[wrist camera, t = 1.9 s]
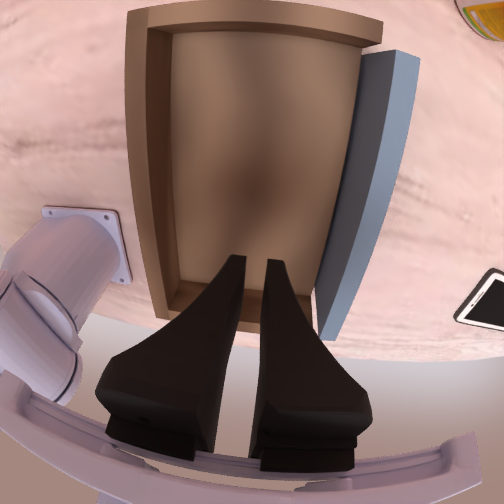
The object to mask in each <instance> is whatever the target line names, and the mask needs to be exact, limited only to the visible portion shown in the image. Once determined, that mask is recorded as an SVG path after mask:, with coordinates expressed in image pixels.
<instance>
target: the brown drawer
mask: <svg viewBox="0 0 504 504" xmlns="http://www.w3.org/2000/svg"><path fill="white" fill-rule="evenodd" d="M382 33H383V22H382V21H379V20H376V19H372V18H369V17H365V16H361V15H357V14H353V13H349V12H345V11H340V10H336V9H331V8H325V7H320V6H314V5H307V4H300V3H292V2H282V1H270V0H201V1H189V2H179V3H171V4H164V5H157V6H151V7H146V8H140V9H136V10H131V11H128V13H127V26H126V42H125V115H126V134H127V148H128V159H129V169H130V179H131V187H132V195H133V203H134V210H135V216H136V223H137V229H138V235H139V241H140V246H141V252H142V257H143V262H144V267H145V272H146V277H147V281H148V286H149V290H150V295H151V299H152V303H153V307H154V311H155V315H156V318H160V319H166V320H171V321H172V320H173V319H174V318H175V317H177V316H178V315H179V314H180V313H181V312H182V311H183V310H185V309H186V308H187V307H188V306H189V305H190V304H191V303H192V302H193V301H194V300H195V299H196V298H197V297H198V296H199V294H200V293H201V292H202V291H203V290H204V289H205V288H206V287H207V286H208V284H209V283H210V282H211V281H212V280H213V278H214V277H215V276H216V275H217V273H218V272H219V271H220V269H221V268H222V266H223V265H224V264H225V262H226V260H227V259H228V257H229V256H230V255H231V254H235V255H243V256H247V261H246V274H245V287H244V296H243V303H242V309H241V315H240V319H239V323H238V326H237V330H236V331H241V332H249V333H257V334H260V314H261V305H262V296H263V289H264V282H265V274H266V267H267V259H277V260H283V261H284V262H285V265H286V269H287V273H288V276H289V279H290V282H291V284H292V287H293V289H294V292H295V294H296V296H297V299H298V301H299V303H300V305H301V307H302V309H303V311H304V313H305V315H306V317H307V319H308V320H309V322H310V324H311V325H312V327H313V321H312V305H311V294H312V290H313V287H314V283H315V280H316V276H317V273H318V269H319V265H320V262H321V258H322V254H323V250H324V247H325V243H326V239H327V235H328V231H329V227H330V223H331V219H332V215H333V210H334V206H335V202H336V197H337V193H338V188H339V184H340V179H341V174H342V170H343V165H344V160H345V155H346V150H347V144H348V139H349V133H350V128H351V122H352V116H353V110H354V104H355V97H356V91H357V84H358V76H359V69H360V61H361V52H362V48H366V47H369V46H373V45H377V44H381V43H382Z"/></svg>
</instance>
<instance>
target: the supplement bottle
mask: <svg viewBox="0 0 504 504" xmlns="http://www.w3.org/2000/svg"><path fill="white" fill-rule="evenodd" d="M456 3H457V6H458V8H459V10H460V12H461V14H462V16H463V17H464V19H465V20H466V21H467V23H468V24H469V25H470V26H471V27H472V28H473V30H475V31H476V32H477V33H478V34H479V35H481V36H482V37H484V38H486V39H489V40H492V41H502V42H504V0H456Z"/></svg>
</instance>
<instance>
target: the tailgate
mask: <svg viewBox="0 0 504 504" xmlns="http://www.w3.org/2000/svg"><path fill="white" fill-rule="evenodd" d="M419 66H420V58H418V57H416V56H413V55H410V54H408V53H405V52H402V51H399V50H389V51H383V52H377V53H371V54H365V55H361V61H360V69H359V76H358V84H357V91H356V97H355V104H354V110H353V116H352V122H351V128H350V133H349V139H348V144H347V150H346V155H345V160H344V165H343V170H342V174H341V179H340V184H339V188H338V193H337V197H336V202H335V206H334V210H333V215H332V219H331V223H330V227H329V231H328V235H327V239H326V243H325V247H324V250H323V254H322V258H321V262H320V265H319V269H318V273H317V276H316V280H315V283H314V286H315V297H316V309H317V322H318V336H319V338H320V339H321V340H328V341H335V340H336V338H337V336H338V334H339V331H340V329H341V327H342V325H343V323H344V321H345V318H346V316H347V314H348V312H349V309H350V307H351V305H352V302H353V300H354V298H355V295H356V293H357V291H358V288H359V286H360V283H361V281H362V278H363V276H364V273H365V271H366V268H367V266H368V263H369V260H370V258H371V255H372V252H373V250H374V247H375V244H376V241H377V238H378V236H379V233H380V230H381V227H382V224H383V221H384V218H385V215H386V212H387V208H388V205H389V202H390V199H391V195H392V192H393V189H394V185H395V182H396V178H397V174H398V171H399V167H400V163H401V159H402V155H403V151H404V147H405V143H406V138H407V134H408V129H409V125H410V120H411V115H412V110H413V104H414V99H415V93H416V87H417V80H418V73H419Z"/></svg>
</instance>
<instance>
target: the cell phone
mask: <svg viewBox="0 0 504 504" xmlns="http://www.w3.org/2000/svg"><path fill="white" fill-rule="evenodd" d="M453 317H454V319H455V321H456V322H459V323H462V324H467V325H472V324H473V325H472V326H477V327H483V328H488V329H493V330H498V331H504V272H502V271H500V270H498V269H495V268H491V269H489V270H488V271H487V272H486V273H485V275H484V276H483V277H482V279H481V280H480V281H479V283H478V284H477V285H476V287H475V288H474V289H473V291H472V292H471V293H470V295H469V296H468V297H467V298H466V300H465V301H464V302H463V303H462V305H461V306H460V307H459V308H458V310H457V311H456V312H455V314H454V316H453Z"/></svg>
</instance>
